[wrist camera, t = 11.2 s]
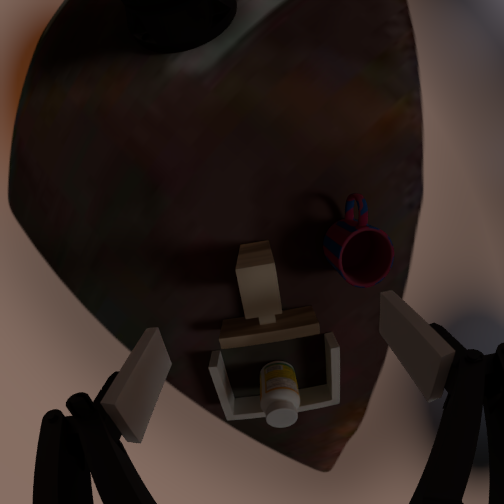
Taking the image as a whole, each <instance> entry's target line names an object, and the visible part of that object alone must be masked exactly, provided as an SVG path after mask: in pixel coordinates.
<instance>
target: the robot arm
mask: <svg viewBox="0 0 504 504" xmlns="http://www.w3.org/2000/svg"><path fill="white" fill-rule="evenodd" d="M121 1H122V2H123V3H124V4H125V9H126V16H127V23H128V28H129V30H130V32H131V34H132V36H133V37H134V38H135V39H136V40H137V41H138V42H139V43H140V44H141V45H142V46H143V47H145V48H147V49H149V50H152V51H156V52H165V53H171V52H180V51H185V50H189V49H193V48H196V47H198V46H201V45H203V44H205V43H207V42H209V41H211V40H212V39H214V38H216V37H217V36H218V35H220V34H221V33H222V32H223V31H224V30H225V29H226V28H227V27H228V26H229V25H230V23H231V22H232V20H233V19H234V16H235V14H236V9H237V3H236V0H121ZM379 333H380V334H381V335H382V337H383V338H384V340H385V341H386V342H387V344H388V345H389V346H390V348H391V349H392V351H393V352H394V353H395V355H396V356H397V358H398V359H399V361H400V362H401V363H402V365H403V366H404V368H405V369H406V371H407V372H408V373H409V375H410V376H411V378H412V379H413V381H414V382H415V384H416V385H417V387H418V388H419V390H420V391H421V392H422V394H423V396H424V397H425V399H426V400H427V402H428V403H429V402H431V401H433V400H436V399H438V398H440V397H441V396H442V394H443V391H444V388H445V389H446V391H447V392H448V395H447V398H446V401H445V403H444V406H443V409H444V410H443V414H442V418H441V422H440V425H439V429H438V432H437V435H436V438H435V441H434V445H433V448H432V450H431V453H430V456H429V459H428V462H427V464H426V467H425V469H424V472H423V474H422V476H421V479H420V481H419V483H418V486H417V488H416V490H415V492H414V494H413V497H412V498H411V501H410V503H409V504H463V503H462V497H463V494H464V491H465V488H466V485H467V482H468V478H469V475H470V471H471V467H472V464H473V459H474V455H475V451H476V446H477V440H478V435H479V429H480V423H481V416H482V407H483V406H484V413H485V420H486V427H487V436H488V447H489V468H490V488H489V489H490V490H489V504H504V343H501V344H500V345H498V347H497V350H496V353H494V354H489V355H483V353H482V352H480V351H478V350H474V349H468V350H467V349H466V348H464V347H463V346H462V345H461V344H460V343H459V342H458V341H457V340H456V339H455V338H454V337H452V335H451V334H450V333H449V332H448V331H447V330H446V329H444V328H443V327H442V326H440V325H438V324H436V323H432V324H428V323H427V322H426V321H425V320H423V318H422V317H421V316H419V315H418V314H417V313H416V312H415V311H414V310H413V309H412V308H411V307H410V306H409V305H408V304H407V303H405V301H403V300H402V299H401V298H400V297H399V296H398V295H397V294H396V293H395V292H394V291H392V290H390V291H386V292H381V300H380V326H379ZM171 364H172V363H171V361H170V358H169V356H168V353H167V350H166V348H165V345H164V342H163V340H162V337H161V334H160V331H159V328H158V327H156V328H147V329H146V330H145V332H144V333H143V335H142V337H141V338H140V340H139V341H138V343H137V344H136V346H135V347H134V349H133V351H132V352H131V354H130V355H129V357H128V358H127V360H126V362H125V364H124V365H123V367H122V368H121V370H120V371H119V372H114V373H113V374H112V375H111V376H110V377H109V378H108V379H107V381H106V383H105V385H104V386H103V387H102V390H100V392H99V393H98V395H97V397H96V398H95V400H94V402H92V400H91V399H90V397H89V396H88V394H86V393H83V392H81V393H76V394H74V395H72V396H71V397H70V398H69V399H68V400H67V402H66V407H67V408H68V410H69V411H70V413H71V414H72V416H66V417H65V416H64V415H63V414H62V412H61V411H60V410H57V409H54V410H50V411H48V412H47V413H46V414H45V415H44V417H43V419H42V424H41V429H40V435H39V441H38V447H37V455H36V462H35V472H34V484H33V485H34V486H33V504H93V496H92V487H91V475H92V477H93V480H94V483H95V485H96V488H97V490H98V493H99V495H100V497H101V500H102V502H103V504H157V503H156V502H155V500H154V499H153V497H152V496H151V494H150V493H149V491H148V490H147V488H146V486H145V485H144V483H143V481H142V480H141V478H140V476H139V475H138V473H137V471H136V469H135V467H134V465H133V464H132V462H131V460H130V458H129V456H128V454H127V452H126V450H125V449H124V446H123V444H122V443H121V442H120V440H119V439H120V437H121V435H123V437H124V438H125V439H126V440H127V442H133V443H141V441H142V439H143V436H144V433H145V431H146V428H147V425H148V423H149V420H150V417H151V415H152V412H153V410H154V407H155V405H156V402H157V399H158V397H159V394H160V392H161V389H162V387H163V384H164V382H165V379H166V377H167V374H168V372H169V369H170V367H171ZM90 472H91V474H90Z"/></svg>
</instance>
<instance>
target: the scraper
mask: <svg viewBox="0 0 504 504" xmlns="http://www.w3.org/2000/svg"><path fill="white" fill-rule="evenodd" d="M235 270H236V275H237V280H238V285H239V290H240V295H241V299H242V304H243V309H244V314H245V317H239V318H232V319H225V320H223V322H222V327H221V332H220V337H219V341H220V344H221V348H222V349H226V348H235V347H242V346H250V345H257V344H264V343H270V342H276V341H282V340H288V339H294V338H299V337H305V336H310V335H315V334H320V329H319V322H318V320H317V317H316V315H315V313H314V311H313V308H312V306H305V307H300V308H295V309H289V310H283V311H282V307H281V300H280V294H279V287H278V281H277V274H276V268H275V262H274V258H273V255H272V251H271V247H270V243H269V240H266V241H260V242H254V243H248V244H242V245H240V249H239V254H238V259H237V264H236V269H235Z"/></svg>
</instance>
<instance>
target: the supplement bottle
mask: <svg viewBox="0 0 504 504" xmlns="http://www.w3.org/2000/svg"><path fill="white" fill-rule="evenodd" d="M260 406H261V409H262V410H263V412H264V413H265V415H266V421H267V423H268V424H269V425H271V426H273V427H278V428H282V427H287V426H290V425H292V424H293V423H295V422H296V420H297V418H298V414H297V409H298V408H299V406H300V395H299V391H298V385H297V381H296V376H295V371H294V368H293V367H292V366H291V365H290V364H289V363H287V362H284V361H273V362H270V363H268V364H266V365H265V366H264V367H263V368H262V370H261V372H260Z"/></svg>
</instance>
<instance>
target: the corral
mask: <svg viewBox="0 0 504 504" xmlns="http://www.w3.org/2000/svg"><path fill="white" fill-rule="evenodd" d="M324 339H325V356H326V379H327V384H324V385H319V386H314V387H309V388H304V389H298V391H299V395H300V406H299V408H298V409H297V412H301V411H306V410H311V409H316V408H321V407H326V406H330V405H335V404H339V403H340V347H339V345H338V343H337V341H336V339H335V337H334V334H333V332H329V333H325V334H324ZM208 368H209V371H210V374H211V377H212V380H213V383H214V385H215V388H216V391H217V394H218V397H219V400H220V402H221V405H222V408H223V410H224V413H225V416H226V418H227V420H239V419H250V418H260V417H266V415H265V413H264V412H263V410H262V409H261V406H260V395H258V396H250V397H241V398H234V395H233V392H232V388H231V385H230V382H229V378H228V375H227V372H226V368H225V365H224V362H223V358H222V355H221V351H220V350H217V351H212V354H211V358H210V362H209V367H208Z"/></svg>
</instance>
